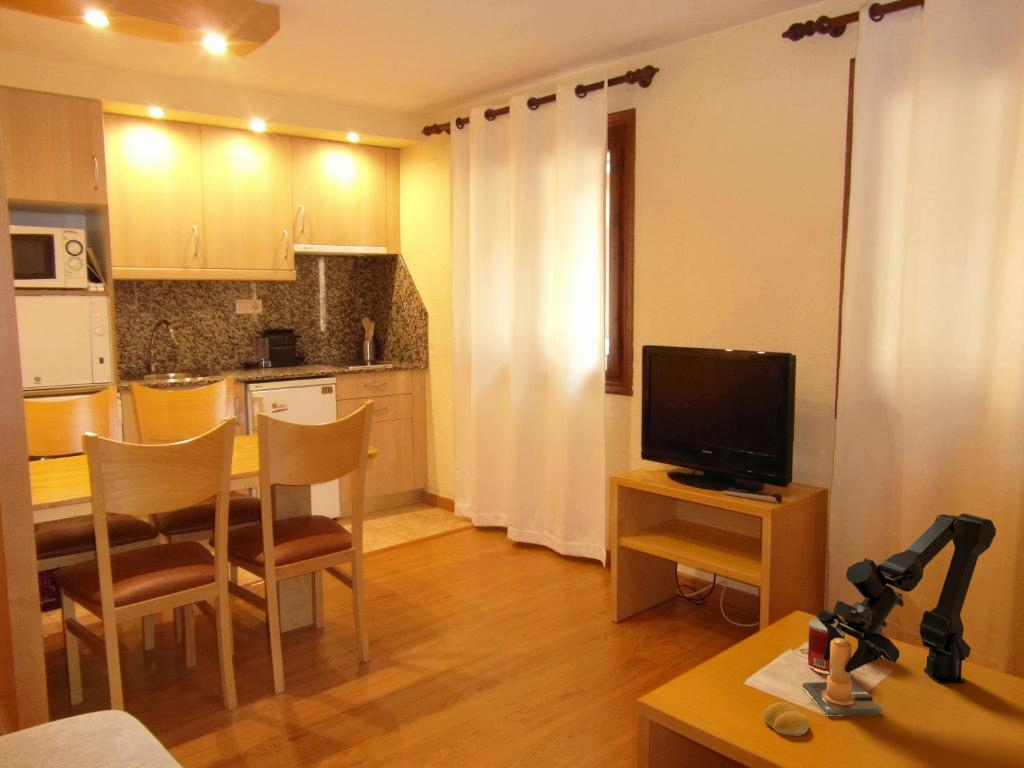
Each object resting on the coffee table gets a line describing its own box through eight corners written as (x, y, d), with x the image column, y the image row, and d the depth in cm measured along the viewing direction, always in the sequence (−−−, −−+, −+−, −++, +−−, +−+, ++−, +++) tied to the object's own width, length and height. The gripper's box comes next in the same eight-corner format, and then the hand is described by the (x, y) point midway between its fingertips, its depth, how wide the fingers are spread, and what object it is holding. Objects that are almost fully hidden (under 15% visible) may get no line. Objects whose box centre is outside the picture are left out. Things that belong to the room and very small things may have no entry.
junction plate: (853, 687, 177) (854, 679, 177) (881, 714, 165) (881, 706, 165) (802, 689, 176) (802, 681, 176) (826, 716, 164) (826, 708, 164)
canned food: (848, 675, 183) (850, 631, 182) (814, 675, 183) (816, 630, 182) (835, 661, 190) (837, 618, 189) (803, 660, 191) (804, 617, 189)
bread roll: (786, 741, 155) (786, 722, 155) (757, 719, 164) (757, 701, 163) (818, 733, 158) (819, 714, 158) (788, 712, 167) (789, 694, 166)
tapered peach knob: (849, 692, 171) (851, 637, 170) (852, 703, 166) (855, 647, 165) (825, 689, 172) (827, 635, 171) (827, 700, 168) (830, 644, 166)
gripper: (824, 574, 177) (785, 628, 174) (892, 602, 160) (850, 663, 157) (848, 602, 181) (810, 656, 178) (917, 633, 164) (877, 692, 161)
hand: (835, 665), depth 168 cm, fingers open, 6 cm apart
